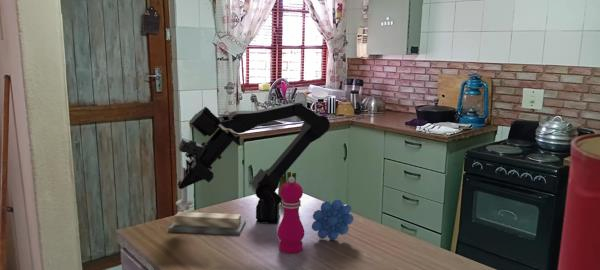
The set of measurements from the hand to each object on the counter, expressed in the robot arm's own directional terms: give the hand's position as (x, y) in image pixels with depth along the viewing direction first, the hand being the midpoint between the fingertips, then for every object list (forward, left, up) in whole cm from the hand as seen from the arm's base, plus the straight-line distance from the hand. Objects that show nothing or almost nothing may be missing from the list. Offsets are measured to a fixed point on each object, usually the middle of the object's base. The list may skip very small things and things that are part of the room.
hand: (179, 187), depth 133 cm
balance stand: (-7, -3, -13) cm, 15 cm away
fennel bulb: (-28, -26, -13) cm, 41 cm away
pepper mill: (-33, +9, -13) cm, 37 cm away
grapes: (-44, +1, -13) cm, 46 cm away
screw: (-1, -1, -7) cm, 7 cm away
